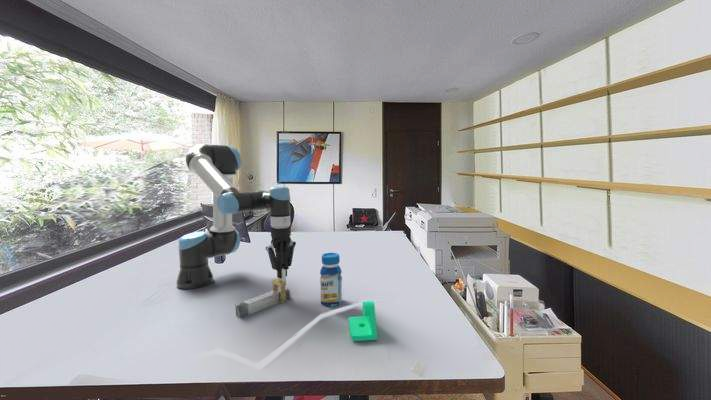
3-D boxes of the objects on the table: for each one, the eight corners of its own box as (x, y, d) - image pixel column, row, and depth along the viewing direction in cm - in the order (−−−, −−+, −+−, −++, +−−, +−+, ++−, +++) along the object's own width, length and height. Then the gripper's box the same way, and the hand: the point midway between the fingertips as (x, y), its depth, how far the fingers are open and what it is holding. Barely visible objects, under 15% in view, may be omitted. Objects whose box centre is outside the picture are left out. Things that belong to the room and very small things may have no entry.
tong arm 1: (278, 298, 117) (277, 288, 117) (280, 299, 116) (280, 289, 116) (235, 315, 103) (235, 304, 103) (238, 316, 102) (237, 305, 102)
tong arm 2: (280, 299, 116) (280, 290, 116) (283, 300, 115) (282, 290, 115) (238, 316, 102) (237, 305, 102) (240, 318, 101) (239, 306, 101)
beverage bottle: (346, 304, 114) (346, 254, 112) (330, 312, 108) (329, 259, 106) (332, 298, 120) (331, 250, 118) (315, 305, 114) (314, 255, 112)
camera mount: (348, 324, 100) (348, 295, 99) (370, 322, 101) (370, 293, 100) (351, 344, 88) (351, 311, 87) (377, 342, 89) (377, 310, 88)
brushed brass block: (273, 299, 117) (272, 279, 116) (277, 297, 118) (276, 278, 117) (281, 303, 113) (280, 283, 112) (285, 301, 115) (285, 281, 114)
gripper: (272, 230, 107) (274, 292, 109) (300, 225, 117) (301, 282, 119) (260, 227, 112) (262, 287, 114) (288, 223, 122) (289, 278, 124)
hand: (282, 285), depth 116 cm, fingers closed
